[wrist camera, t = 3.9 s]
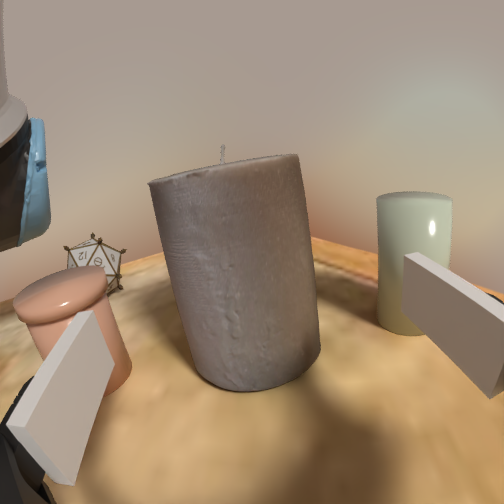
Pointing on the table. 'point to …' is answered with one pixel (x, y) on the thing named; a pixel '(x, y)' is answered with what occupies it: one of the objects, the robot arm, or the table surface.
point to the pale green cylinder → (408, 247)
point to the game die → (97, 259)
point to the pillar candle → (242, 269)
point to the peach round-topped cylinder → (72, 313)
